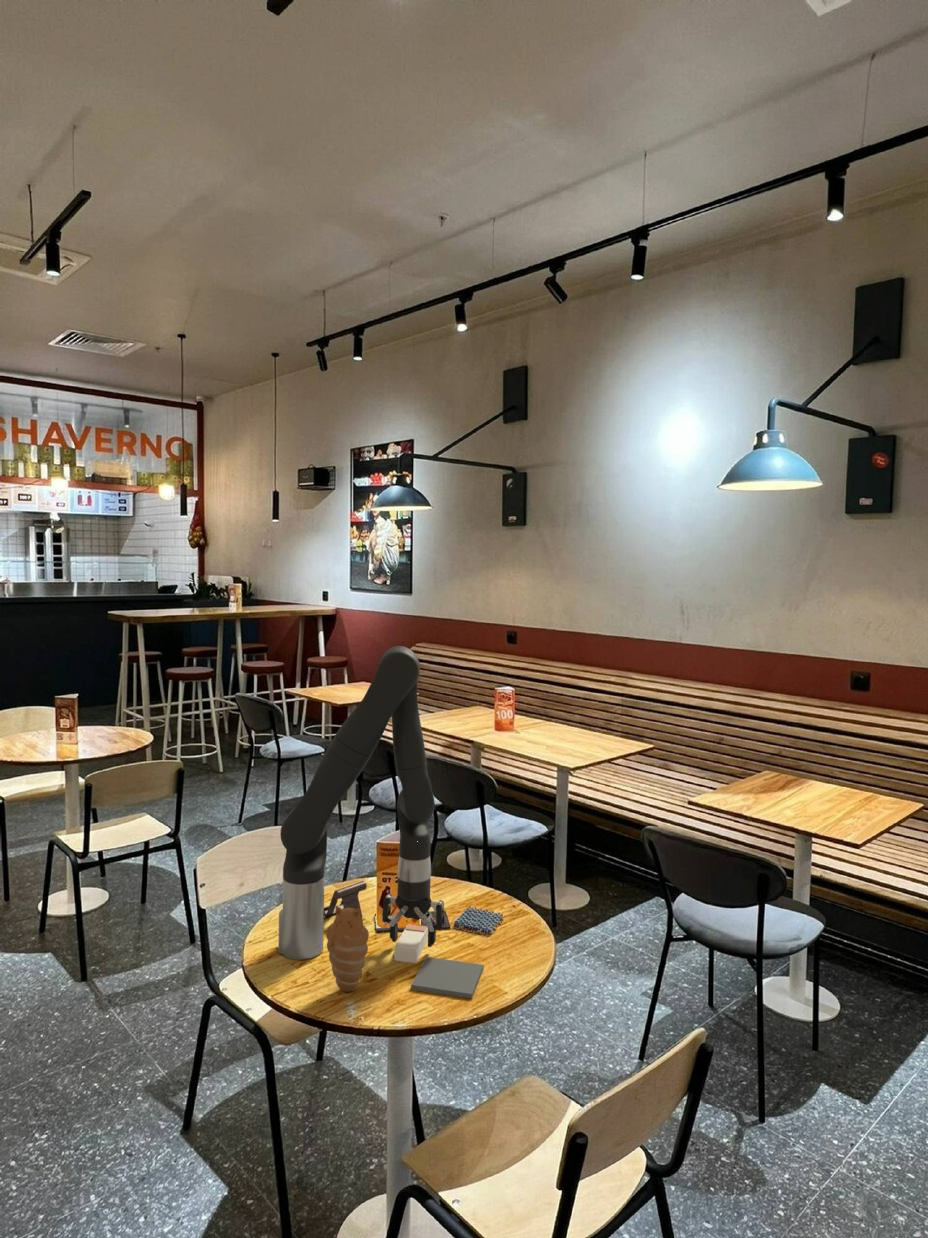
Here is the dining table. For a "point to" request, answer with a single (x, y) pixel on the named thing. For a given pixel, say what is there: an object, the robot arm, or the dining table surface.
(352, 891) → the portable electronic device stand
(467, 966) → the rubber mat
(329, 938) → the cat ice cream
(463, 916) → the woven mat
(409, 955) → the block with tan end
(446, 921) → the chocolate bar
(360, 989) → the dining table surface
